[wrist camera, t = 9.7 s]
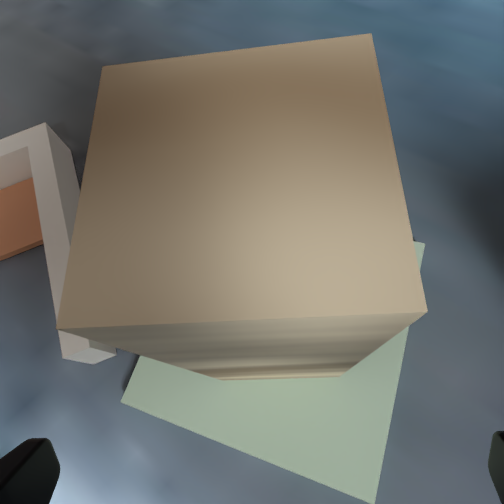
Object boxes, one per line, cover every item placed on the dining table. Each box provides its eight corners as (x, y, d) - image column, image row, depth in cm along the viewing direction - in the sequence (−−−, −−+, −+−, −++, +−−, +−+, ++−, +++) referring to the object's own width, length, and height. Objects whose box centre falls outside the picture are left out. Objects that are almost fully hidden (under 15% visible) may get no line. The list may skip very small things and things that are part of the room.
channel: (117, 354, 18) (89, 347, 16) (-51, 423, 18) (-104, 426, 15) (70, 150, 23) (45, 122, 21) (-59, 200, 23) (-100, 178, 20)
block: (338, 377, 16) (428, 311, 5) (222, 380, 16) (56, 329, 5) (327, 265, 18) (371, 33, 7) (222, 271, 18) (102, 66, 7)
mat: (371, 501, 14) (374, 504, 14) (126, 402, 17) (120, 402, 16) (421, 248, 18) (425, 243, 17) (212, 197, 21) (209, 192, 20)
